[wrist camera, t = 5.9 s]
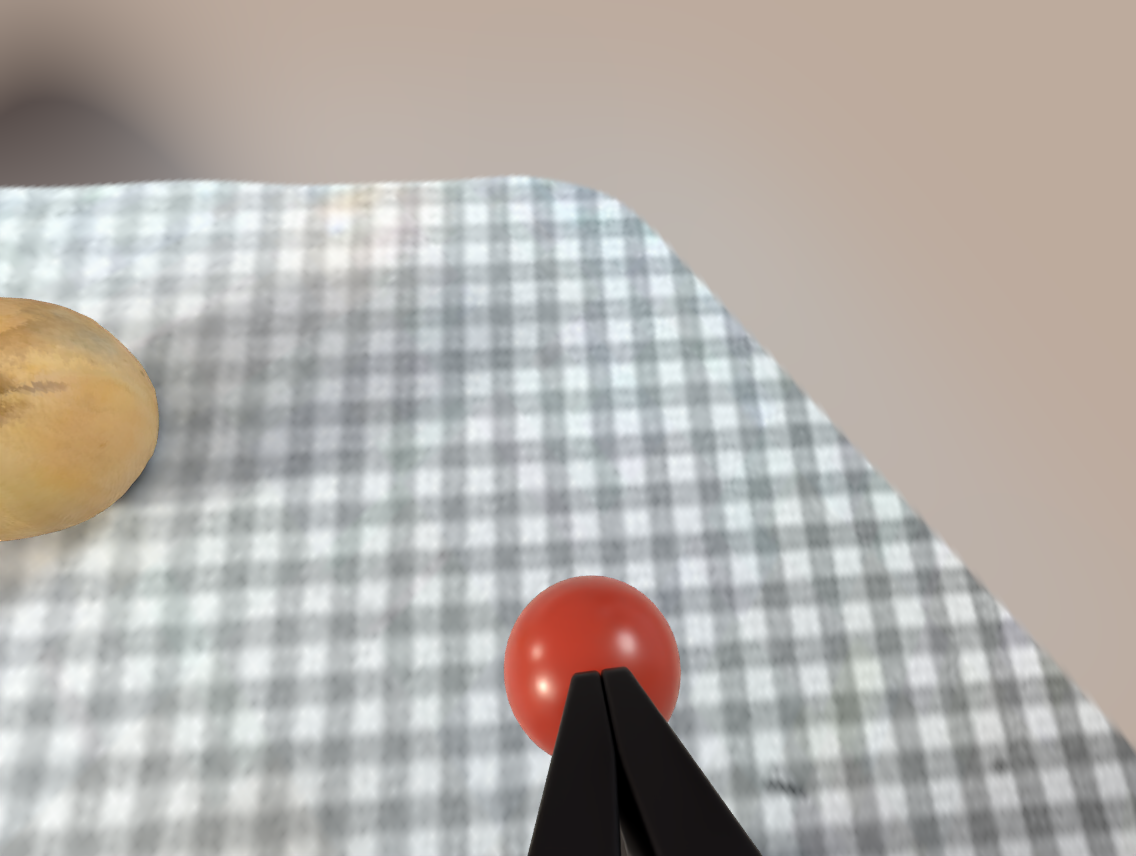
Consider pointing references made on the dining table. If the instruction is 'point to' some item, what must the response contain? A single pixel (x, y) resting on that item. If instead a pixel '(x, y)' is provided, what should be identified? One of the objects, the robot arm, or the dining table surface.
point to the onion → (67, 418)
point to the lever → (586, 650)
